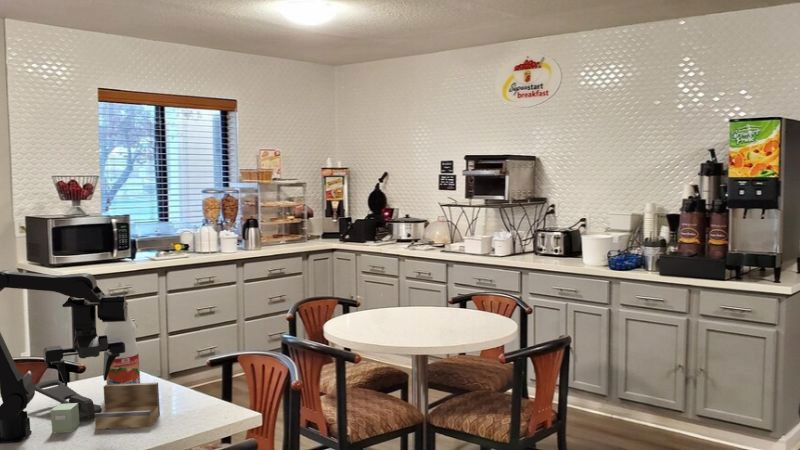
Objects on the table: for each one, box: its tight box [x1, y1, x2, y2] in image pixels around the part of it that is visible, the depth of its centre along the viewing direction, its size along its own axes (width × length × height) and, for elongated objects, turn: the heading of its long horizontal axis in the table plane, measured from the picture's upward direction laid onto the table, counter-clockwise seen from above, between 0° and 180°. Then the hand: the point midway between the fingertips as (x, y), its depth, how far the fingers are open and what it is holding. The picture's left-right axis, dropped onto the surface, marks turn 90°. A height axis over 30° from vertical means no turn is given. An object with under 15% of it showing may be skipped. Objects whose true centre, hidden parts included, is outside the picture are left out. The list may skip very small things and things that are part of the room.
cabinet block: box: [50, 403, 81, 434], centre depth 184 cm, size 5×6×6 cm
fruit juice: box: [103, 300, 141, 385], centre depth 212 cm, size 9×9×28 cm
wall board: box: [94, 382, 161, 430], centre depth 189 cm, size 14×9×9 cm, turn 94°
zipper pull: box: [34, 379, 103, 424], centre depth 198 cm, size 9×7×25 cm
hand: (85, 383), depth 182 cm, fingers open, 9 cm apart
